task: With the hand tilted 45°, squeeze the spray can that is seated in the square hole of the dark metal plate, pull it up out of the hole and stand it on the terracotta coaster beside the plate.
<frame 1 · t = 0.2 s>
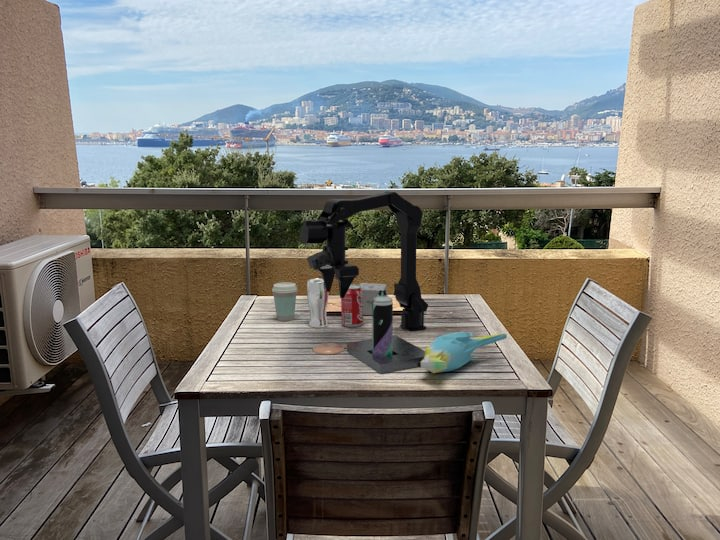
hand: (334, 294, 182), 14 cm above the table, fingers open, 9 cm apart
spray can: (382, 362, 167), resting in square hole plate
soda can: (352, 325, 201), on the table
coffee cup: (285, 319, 209), on the table
decorative bird: (463, 373, 159), on the table
terracotta coaster: (328, 349, 177), on the table
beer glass: (318, 325, 201), on the table
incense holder: (371, 314, 215), on the table
square hole plate: (388, 357, 170), on the table
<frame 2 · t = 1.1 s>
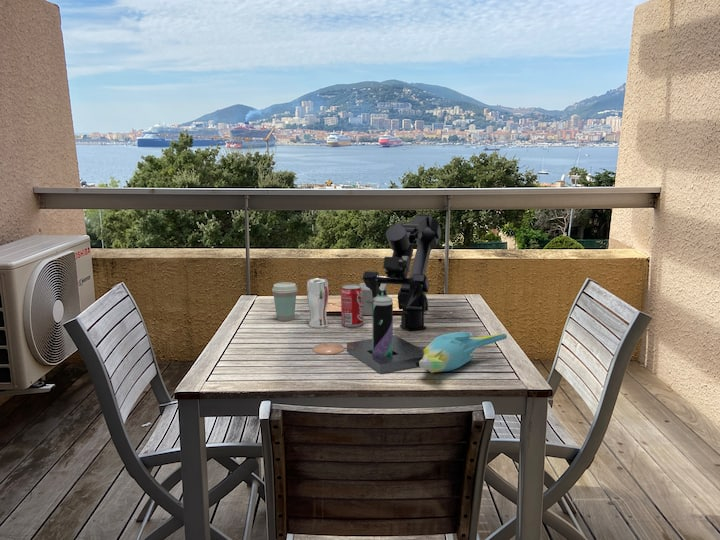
hand: (389, 306, 172), 13 cm above the table, fingers open, 9 cm apart
nothing on the table moved.
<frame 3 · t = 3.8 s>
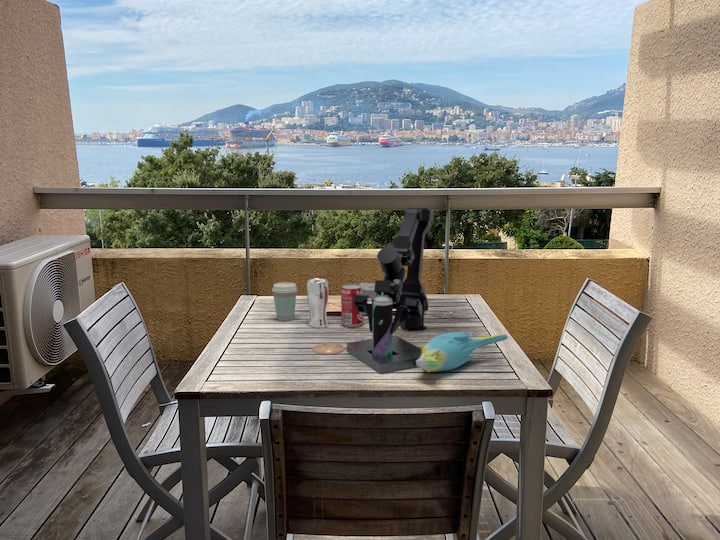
hand: (380, 332, 164), 9 cm above the table, fingers closed on spray can, 5 cm apart
spray can: (382, 362, 167), resting in square hole plate, touching gripper
decorative bird: (461, 372, 159), on the table, touching square hole plate
everything else where it was.
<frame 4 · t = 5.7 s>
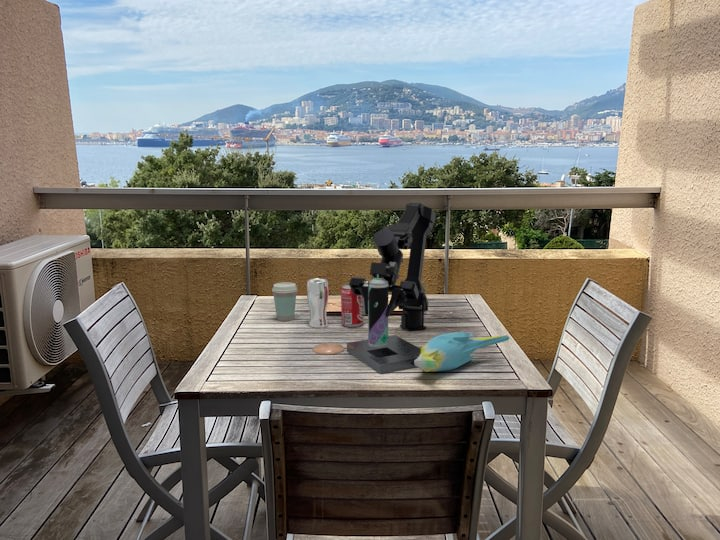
hand: (376, 315, 164), 13 cm above the table, fingers closed on spray can, 5 cm apart
spray can: (378, 345, 167), point 4 cm above the table, touching gripper
everything else where it was.
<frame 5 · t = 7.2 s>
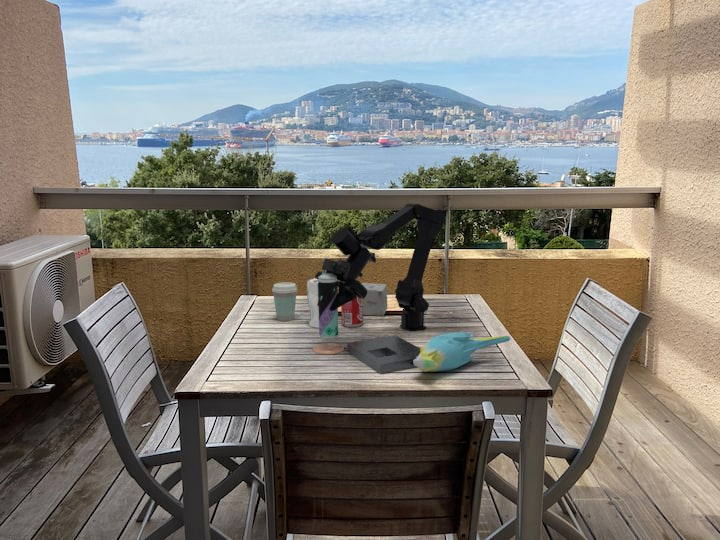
hand: (324, 308, 174), 13 cm above the table, fingers closed on spray can, 5 cm apart
spray can: (328, 336, 177), point 4 cm above the table, touching gripper
decorative bird: (460, 373, 159), on the table
everything else where it was.
when the fingers open (10 cm above the table, at t = 8.0 s): spray can drops 1 cm, resting on terracotta coaster.
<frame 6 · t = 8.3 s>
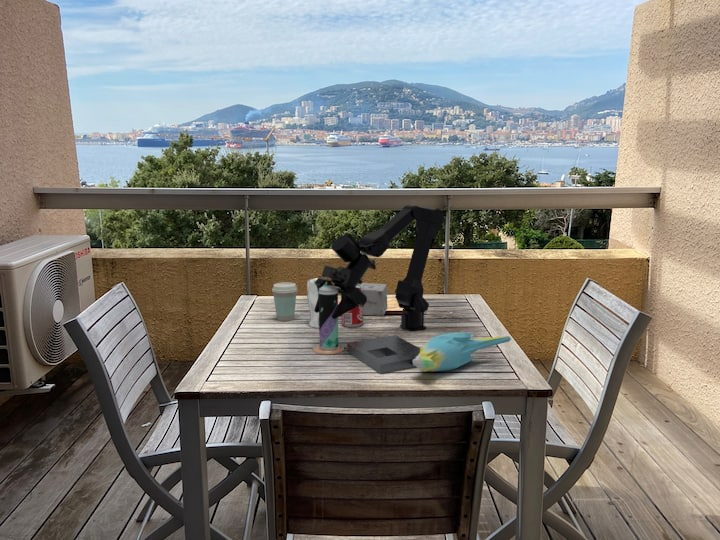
hand: (324, 315, 174), 11 cm above the table, fingers open, 8 cm apart
spray can: (328, 348, 177), resting on terracotta coaster
everything else where it was.
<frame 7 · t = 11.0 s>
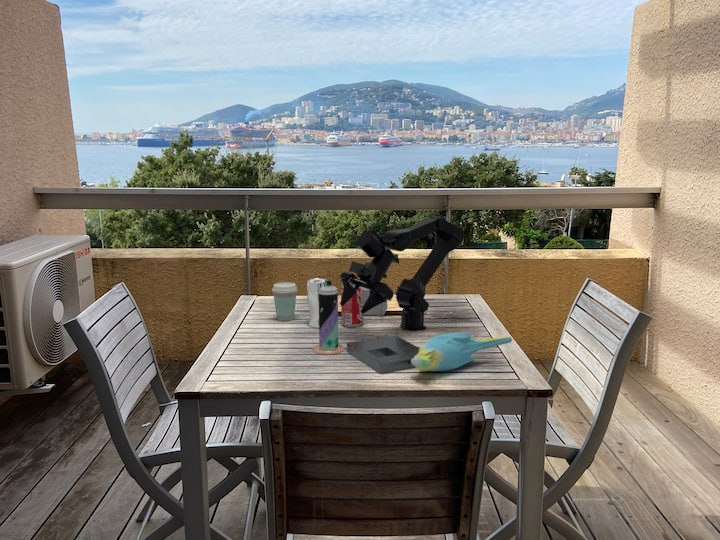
hand: (351, 309, 180), 11 cm above the table, fingers open, 9 cm apart
nothing on the table moved.
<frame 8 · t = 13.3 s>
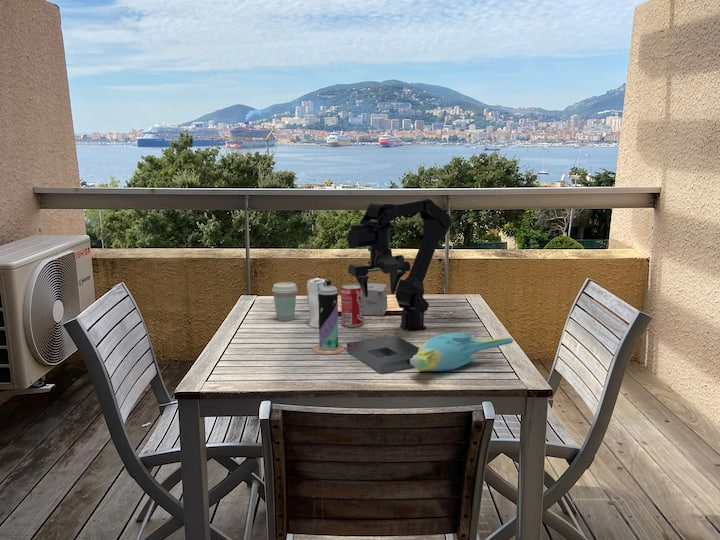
hand: (379, 295, 187), 13 cm above the table, fingers open, 9 cm apart
nothing on the table moved.
at the end: spray can inside the target area (0.2 cm from its centre), resting on terracotta coaster; spray can tilted 0°; the gripper is holding nothing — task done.
